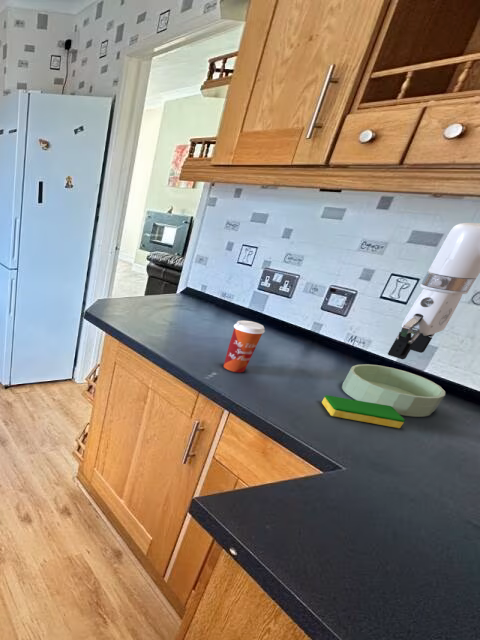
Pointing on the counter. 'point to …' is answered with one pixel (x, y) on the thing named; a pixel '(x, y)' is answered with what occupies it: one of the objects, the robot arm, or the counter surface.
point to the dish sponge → (363, 411)
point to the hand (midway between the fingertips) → (405, 353)
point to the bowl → (393, 389)
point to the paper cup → (242, 345)
